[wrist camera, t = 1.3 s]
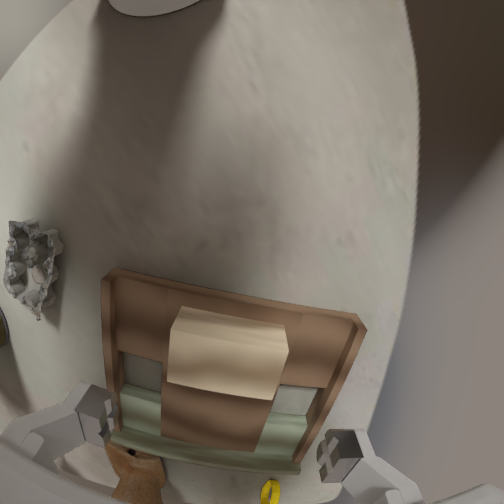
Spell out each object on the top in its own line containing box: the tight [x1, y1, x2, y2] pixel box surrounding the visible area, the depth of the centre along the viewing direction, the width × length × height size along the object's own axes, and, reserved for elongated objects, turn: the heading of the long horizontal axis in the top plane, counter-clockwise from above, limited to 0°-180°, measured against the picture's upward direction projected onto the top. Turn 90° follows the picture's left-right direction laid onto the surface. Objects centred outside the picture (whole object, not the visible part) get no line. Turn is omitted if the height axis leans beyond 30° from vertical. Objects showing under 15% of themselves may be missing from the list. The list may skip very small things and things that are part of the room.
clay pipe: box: [105, 439, 166, 504], centre depth 31 cm, size 15×12×15 cm
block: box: [167, 306, 289, 400], centre depth 27 cm, size 6×10×4 cm, turn 78°
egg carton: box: [3, 218, 63, 320], centre depth 27 cm, size 11×8×4 cm
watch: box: [260, 480, 280, 504], centre depth 37 cm, size 6×3×6 cm, turn 162°
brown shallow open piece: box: [101, 268, 367, 475], centre depth 30 cm, size 24×26×5 cm
